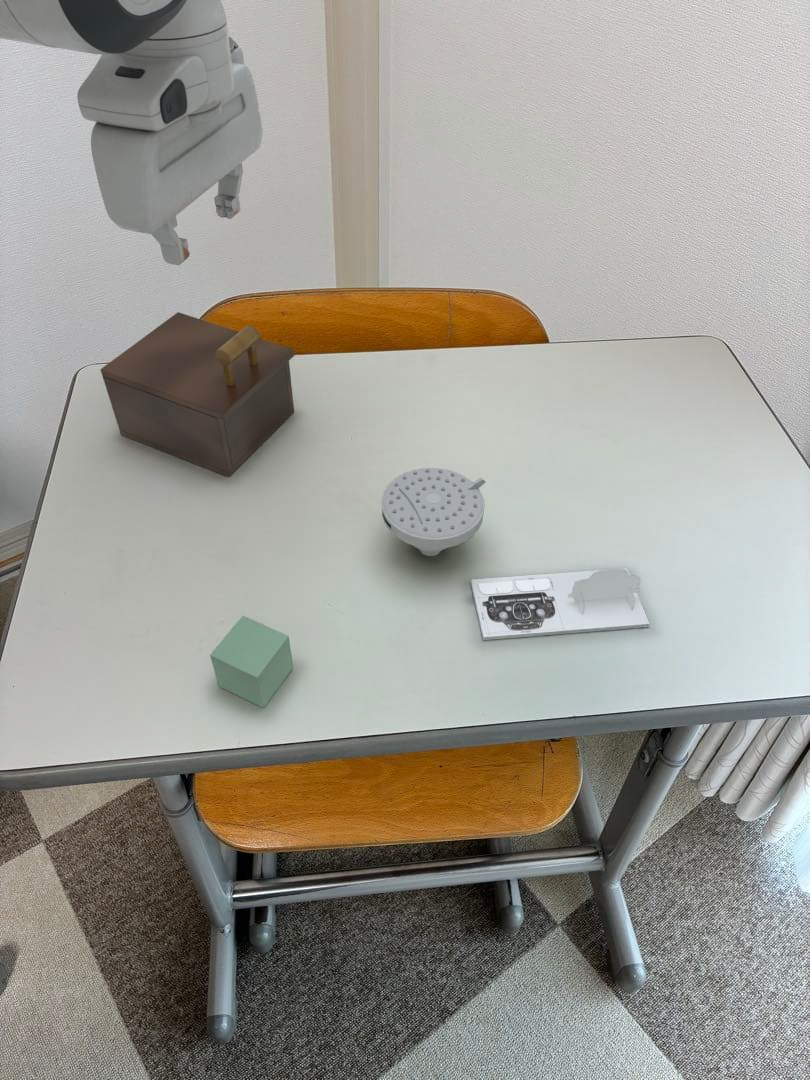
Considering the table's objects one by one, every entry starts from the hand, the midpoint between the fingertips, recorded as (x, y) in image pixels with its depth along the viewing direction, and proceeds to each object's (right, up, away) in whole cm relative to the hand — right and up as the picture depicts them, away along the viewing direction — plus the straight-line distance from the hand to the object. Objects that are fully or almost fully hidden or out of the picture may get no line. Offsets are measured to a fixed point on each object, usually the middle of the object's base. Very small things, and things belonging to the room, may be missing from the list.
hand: (204, 236), depth 72 cm
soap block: (+6, -39, -5) cm, 40 cm away
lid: (-3, -9, +12) cm, 15 cm away
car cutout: (+32, -33, +1) cm, 46 cm away
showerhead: (+21, -28, +5) cm, 36 cm away
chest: (-4, -14, +17) cm, 23 cm away
